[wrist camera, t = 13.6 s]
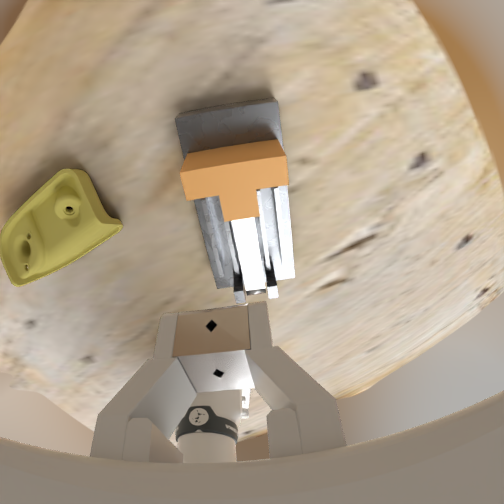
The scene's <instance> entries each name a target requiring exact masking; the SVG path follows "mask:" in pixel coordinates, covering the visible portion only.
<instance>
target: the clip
mask: <svg viewBox="0 0 504 504" xmlns="http://www.w3.org/2000/svg"><path fill="white" fill-rule="evenodd" d="M180 176H181V180H182V184H183V188H184V192H185V196H186V200H187V201H189V200H194V199H200V198H206V197H212V196H218V195H219V198H220V203H221V208H222V212H223V217H224V222H227V221H234V220H240V219H247V218H253V217H260V213H259V206H258V199H257V192H256V189H263V188H270V187H277V186H285V185H289V179H288V168H287V159H286V154H285V152H284V150H283V148H282V146H281V144H280V142H279V140H278V139H275V140H267V141H260V142H253V143H246V144H239V145H233V146H227V147H221V148H215V149H209V150H204V151H198V152H193V153H188V154H187V155H186V158H185V160H184V163H183V166H182V168H181V171H180Z"/></svg>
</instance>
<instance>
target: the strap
mask: <svg viewBox="0 0 504 504" xmlns="http://www.w3.org/2000/svg"><path fill="white" fill-rule="evenodd" d="M232 226H233V231H234V235H235V240H236V245H237V250H238V254H239V259H240V264H241V269H242V273H243V278H244V283H245V287H246V293H247V295H254V294H261V293H266V290H265V283H264V277H263V270H262V264H261V257H260V251H259V244H258V238H257V232H256V225H255V219H254V217H253V218H247V219H240V220H234V221H232Z"/></svg>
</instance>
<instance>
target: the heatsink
mask: <svg viewBox="0 0 504 504" xmlns="http://www.w3.org/2000/svg"><path fill="white" fill-rule="evenodd" d="M175 121H176V126H177V130H178V135H179V139H180V143H181V148H182V152H183V156H184V160H185V158H186V155H187V154H188V153H193V152H198V151H204V150H209V149H215V148H221V147H227V146H233V145H239V144H246V143H253V142H260V141H267V140H275V139H278V140H279V142H280V144H281V146H282V148H283V141H282V132H281V123H280V115H279V107H278V101H277V100H276V99H275V98H269V99H261V100H253V101H246V102H240V103H233V104H227V105H221V106H215V107H210V108H204V109H199V110H194V111H189V112H184V113H179V114H178V116H177V117H176V118H175ZM256 192H257V199H258V206H259V213H260V217H254V219H255V225H256V232H257V238H258V244H259V251H260V257H261V264H262V270H263V277H264V282H267V288H268V295H269V299H271V298H278V289H277V283H276V280H282V279H289V278H295V271H294V258H293V245H292V233H291V221H290V210H289V199H288V189H287V185H285V186H277V187H270V188H263V189H256ZM194 202H195V206H196V210H197V214H198V218H199V222H200V226H201V230H202V234H203V237H204V241H205V245H206V249H207V253H208V256H209V260H210V264H211V268H212V271H213V275H214V279H215V282H216V286H217V289H219V288H227V287H234V295H235V299H236V303H243V302H246V298H245V283H244V278H243V273H242V269H241V264H240V259H239V254H238V250H237V245H236V240H235V235H234V231H233V226H232V221H227V222H224V217H223V212H222V208H221V203H220V198H219V195H218V196H212V197H206V198H200V199H194Z"/></svg>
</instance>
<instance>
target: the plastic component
mask: <svg viewBox="0 0 504 504" xmlns="http://www.w3.org/2000/svg"><path fill="white" fill-rule="evenodd" d="M68 206H71V207H72V208H73V209H72V210H68V209H67V208H66V207H68ZM122 228H123V225H122V223H121V221H120V220H119V219H116V218H111V217H110V216H109V215H108V214H107V213H106V212H105V210H104V208H103V206H102V204H101V202H100V200H99V197H98V195H97V193H96V191H95V189H94V186H93V184H92V182H91V180H90V177H89V176H88V174H87V173H86V172H84V171H83V170H80V169H62V170H60V171H59V172H57V173H56V174H55V175H54V176H53V177H52V178H51V179H50V180H48V181H47V182H46V183H45V184H44V185H43V186H42V187H41V188H40V189H39V190H38V191H36V192H35V193H34V194H33V195H32V196H31V197H30V198H29V199H28V200H27V201H26V202H25V203H24V204H23V205H22V206H21V207H20V208H19V209H18V210H17V211H16V212H15V213H14V214H13V215H12V216H11V217H10V218H9V220H8V221H7V222H6V224H5V225H4V227H3V229H2V231H1V234H0V257H1V260H2V263H3V266H4V268H5V270H6V273H7V275H8V277H9V279H10V281H11V283H12V284H13V285H14V286H16V287H20V286H23V285H26V284H28V283H31V282H33V281H36V280H38V279H40V278H43V277H45V276H47V275H49V274H51V273H53V272H55V271H58V270H59V269H61V268H63V267H65V266H67V265H69V264H71V263H72V262H74V261H76V260H77V259H79V258H81V257H82V256H84V255H85V254H87V253H88V252H90V251H91V250H93V249H94V248H96V247H97V246H99V245H100V244H102V243H103V242H105V241H106V240H108V239H109V238H111V237H112V236H114V235H115V234H117V233H118V232H119V231H121V229H122ZM29 234H30V235H31V236H29ZM27 266H28V268H27Z"/></svg>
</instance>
